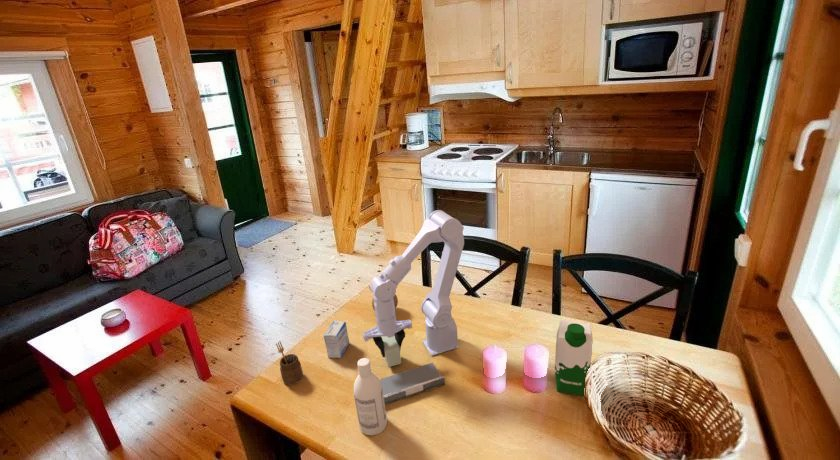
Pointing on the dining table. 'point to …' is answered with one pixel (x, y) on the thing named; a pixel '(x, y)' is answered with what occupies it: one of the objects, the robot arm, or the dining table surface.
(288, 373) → the utensil holder
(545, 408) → the dining table surface
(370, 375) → the bath foam
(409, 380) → the shelf board
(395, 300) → the onion
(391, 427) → the dining table surface
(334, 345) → the medicine box
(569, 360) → the milk carton
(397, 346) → the carton
